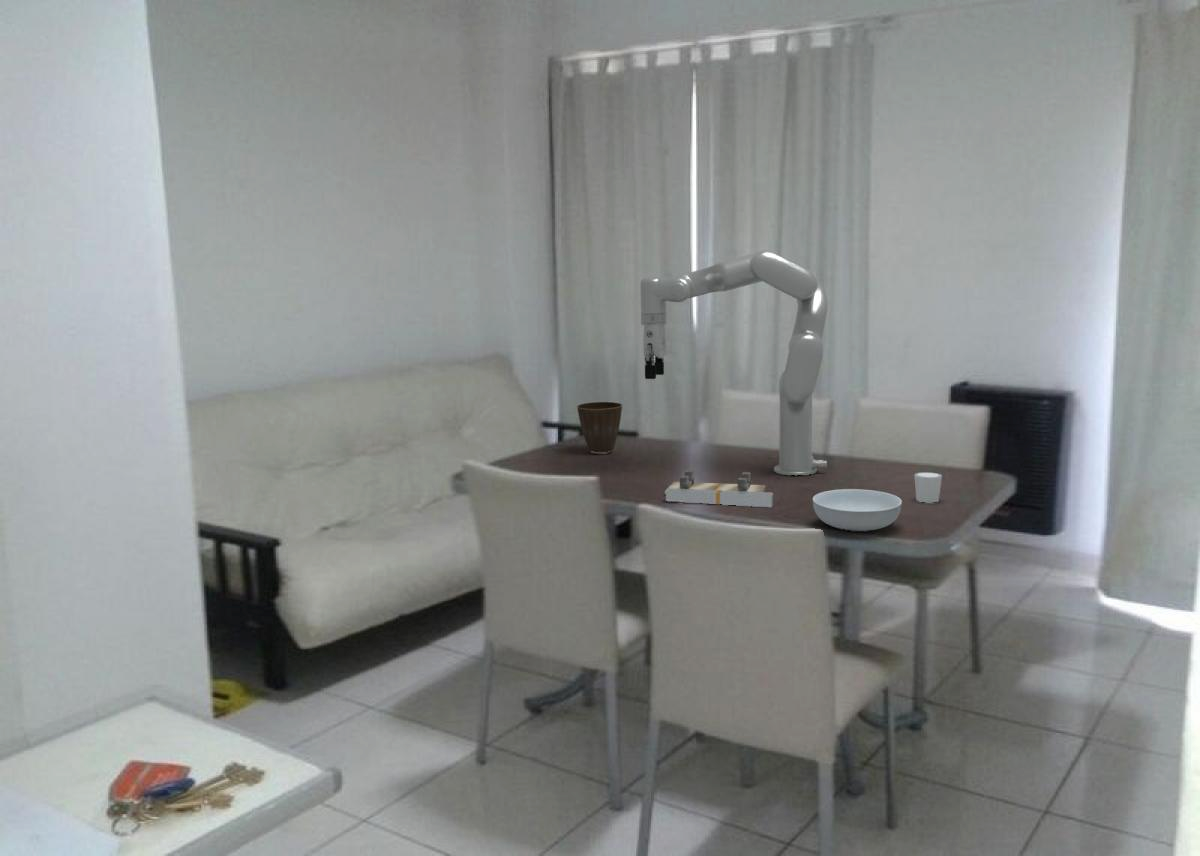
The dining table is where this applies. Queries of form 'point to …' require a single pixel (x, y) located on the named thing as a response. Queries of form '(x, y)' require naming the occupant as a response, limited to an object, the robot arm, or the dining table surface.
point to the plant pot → (600, 424)
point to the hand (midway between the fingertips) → (654, 376)
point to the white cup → (927, 487)
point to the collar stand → (716, 484)
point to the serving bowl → (857, 509)
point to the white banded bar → (721, 497)
